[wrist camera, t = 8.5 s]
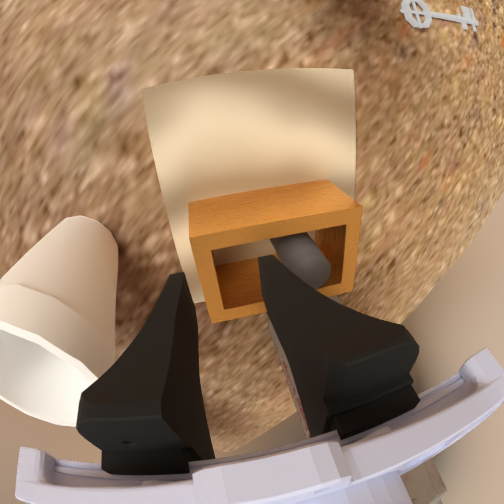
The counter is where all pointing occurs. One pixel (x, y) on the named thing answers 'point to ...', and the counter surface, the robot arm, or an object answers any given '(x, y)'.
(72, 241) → the foam cup
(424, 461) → the robot arm
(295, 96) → the board
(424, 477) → the thermos bottle
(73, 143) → the counter surface
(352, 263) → the orange wooden hollow box
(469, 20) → the key
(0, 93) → the counter surface
